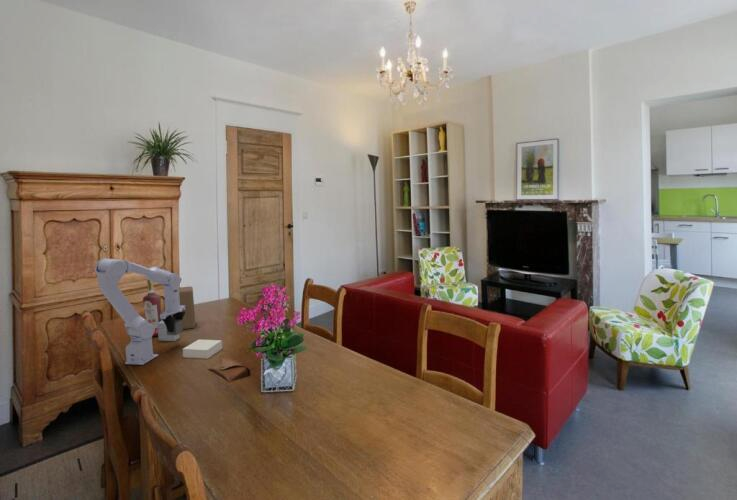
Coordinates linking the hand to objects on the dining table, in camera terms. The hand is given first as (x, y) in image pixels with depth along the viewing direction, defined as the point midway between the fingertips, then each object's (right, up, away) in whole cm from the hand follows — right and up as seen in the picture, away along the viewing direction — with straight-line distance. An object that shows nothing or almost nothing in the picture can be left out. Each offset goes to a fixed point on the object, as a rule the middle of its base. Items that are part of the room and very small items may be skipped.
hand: (174, 330), depth 171 cm
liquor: (-18, -6, +17) cm, 25 cm away
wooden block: (-9, -4, +28) cm, 30 cm away
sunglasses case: (+33, -11, -25) cm, 43 cm away
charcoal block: (0, -1, 0) cm, 1 cm away
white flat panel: (+15, -9, -6) cm, 19 cm away
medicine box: (-8, -7, +10) cm, 14 cm away
